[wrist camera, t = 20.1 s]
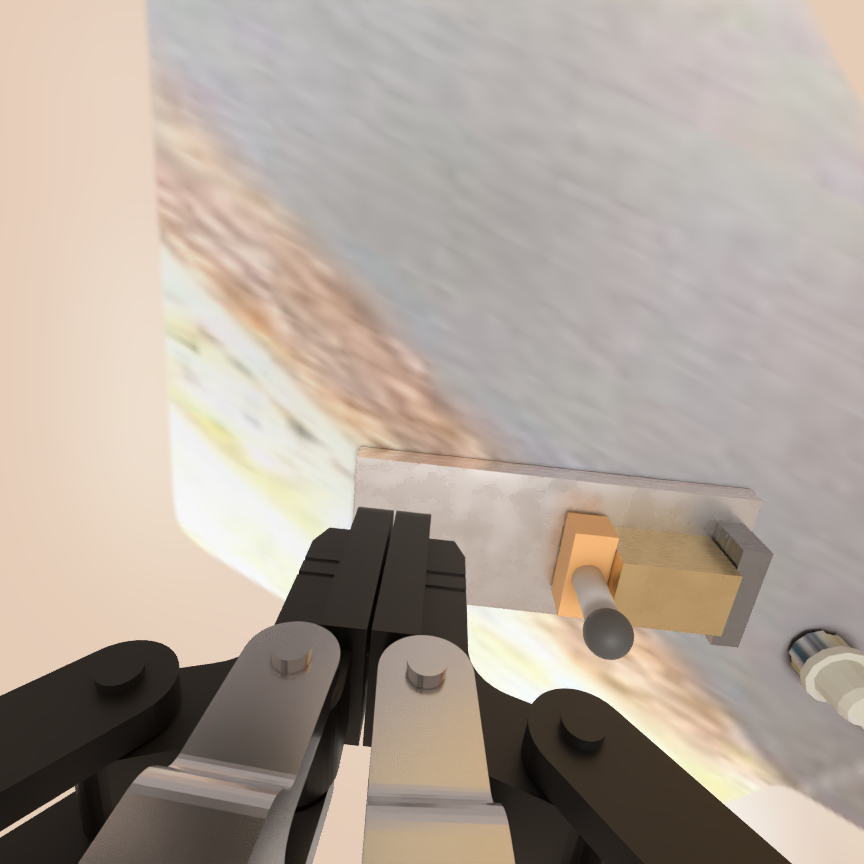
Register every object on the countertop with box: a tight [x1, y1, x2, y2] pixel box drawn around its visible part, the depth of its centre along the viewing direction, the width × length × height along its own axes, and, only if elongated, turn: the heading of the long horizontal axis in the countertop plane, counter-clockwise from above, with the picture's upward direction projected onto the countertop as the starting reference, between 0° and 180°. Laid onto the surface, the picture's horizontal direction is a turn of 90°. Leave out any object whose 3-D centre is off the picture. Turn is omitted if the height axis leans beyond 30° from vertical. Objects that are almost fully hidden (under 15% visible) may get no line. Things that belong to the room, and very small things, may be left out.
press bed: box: [353, 447, 773, 647], centre depth 41 cm, size 30×12×6 cm, turn 84°
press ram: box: [551, 512, 634, 660], centre depth 37 cm, size 3×7×10 cm, turn 174°
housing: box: [607, 526, 743, 636], centre depth 39 cm, size 8×5×5 cm, turn 84°
